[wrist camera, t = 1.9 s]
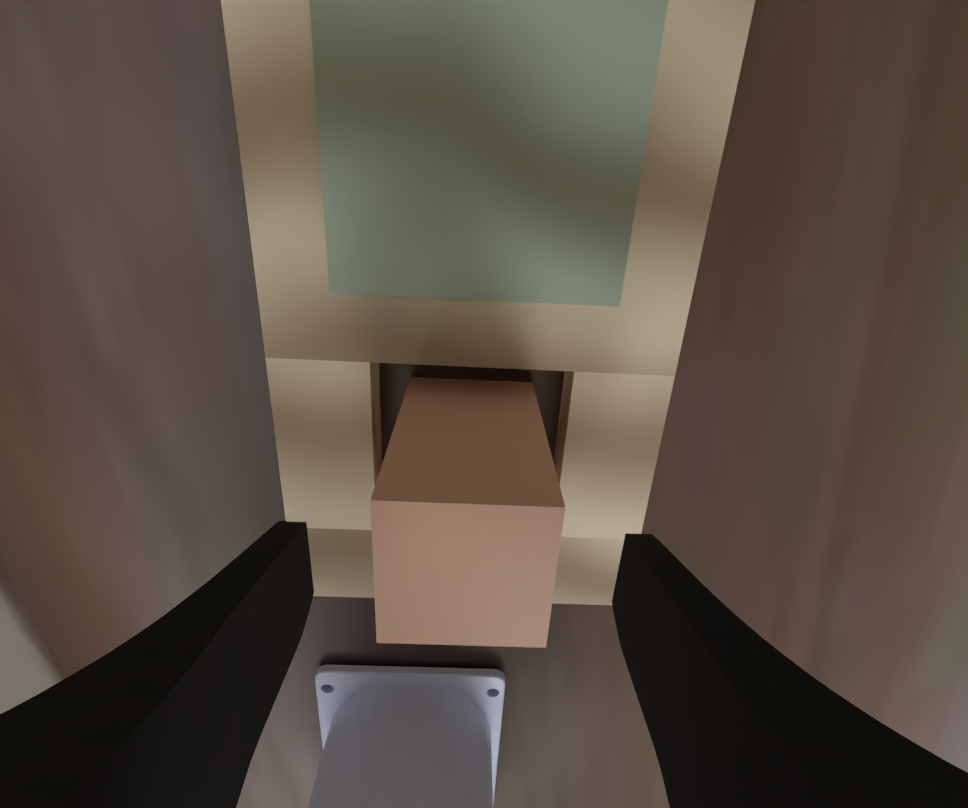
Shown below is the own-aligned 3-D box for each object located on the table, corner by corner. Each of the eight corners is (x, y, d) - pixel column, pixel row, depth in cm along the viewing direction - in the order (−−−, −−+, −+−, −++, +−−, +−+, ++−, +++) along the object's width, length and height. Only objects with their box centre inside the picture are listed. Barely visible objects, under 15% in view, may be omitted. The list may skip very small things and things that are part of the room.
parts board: (615, 576, 20) (626, 607, 19) (307, 566, 20) (294, 597, 19) (746, -80, 12) (781, -114, 11) (233, -118, 12) (198, -158, 10)
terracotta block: (522, 485, 19) (546, 647, 12) (411, 481, 19) (376, 642, 12) (532, 382, 17) (565, 507, 11) (410, 376, 17) (370, 500, 11)
